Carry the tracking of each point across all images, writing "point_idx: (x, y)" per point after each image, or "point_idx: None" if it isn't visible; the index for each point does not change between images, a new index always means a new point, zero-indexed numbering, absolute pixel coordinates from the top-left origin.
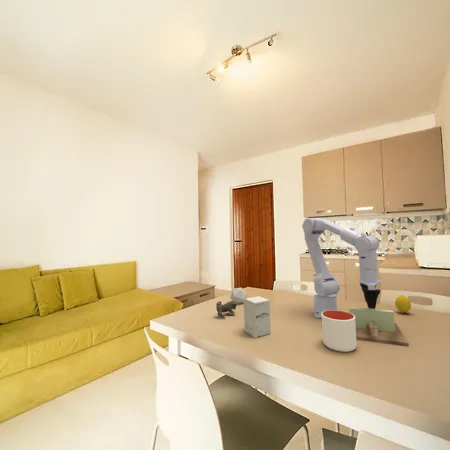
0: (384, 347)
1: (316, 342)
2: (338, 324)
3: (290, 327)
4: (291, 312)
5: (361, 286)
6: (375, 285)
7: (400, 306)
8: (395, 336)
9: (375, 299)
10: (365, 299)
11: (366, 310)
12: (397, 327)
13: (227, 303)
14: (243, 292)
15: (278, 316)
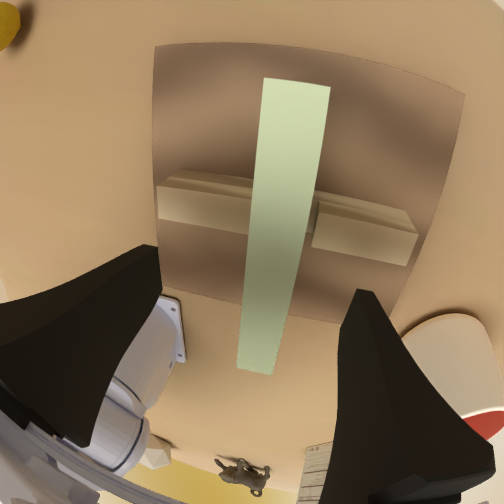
0: (471, 210)
1: None
2: (493, 422)
3: (297, 416)
4: (167, 392)
5: (92, 427)
6: (8, 359)
7: (2, 35)
8: (391, 113)
9: (409, 374)
10: (150, 310)
11: (290, 299)
12: (230, 48)
13: (237, 483)
14: (149, 458)
15: (216, 419)
